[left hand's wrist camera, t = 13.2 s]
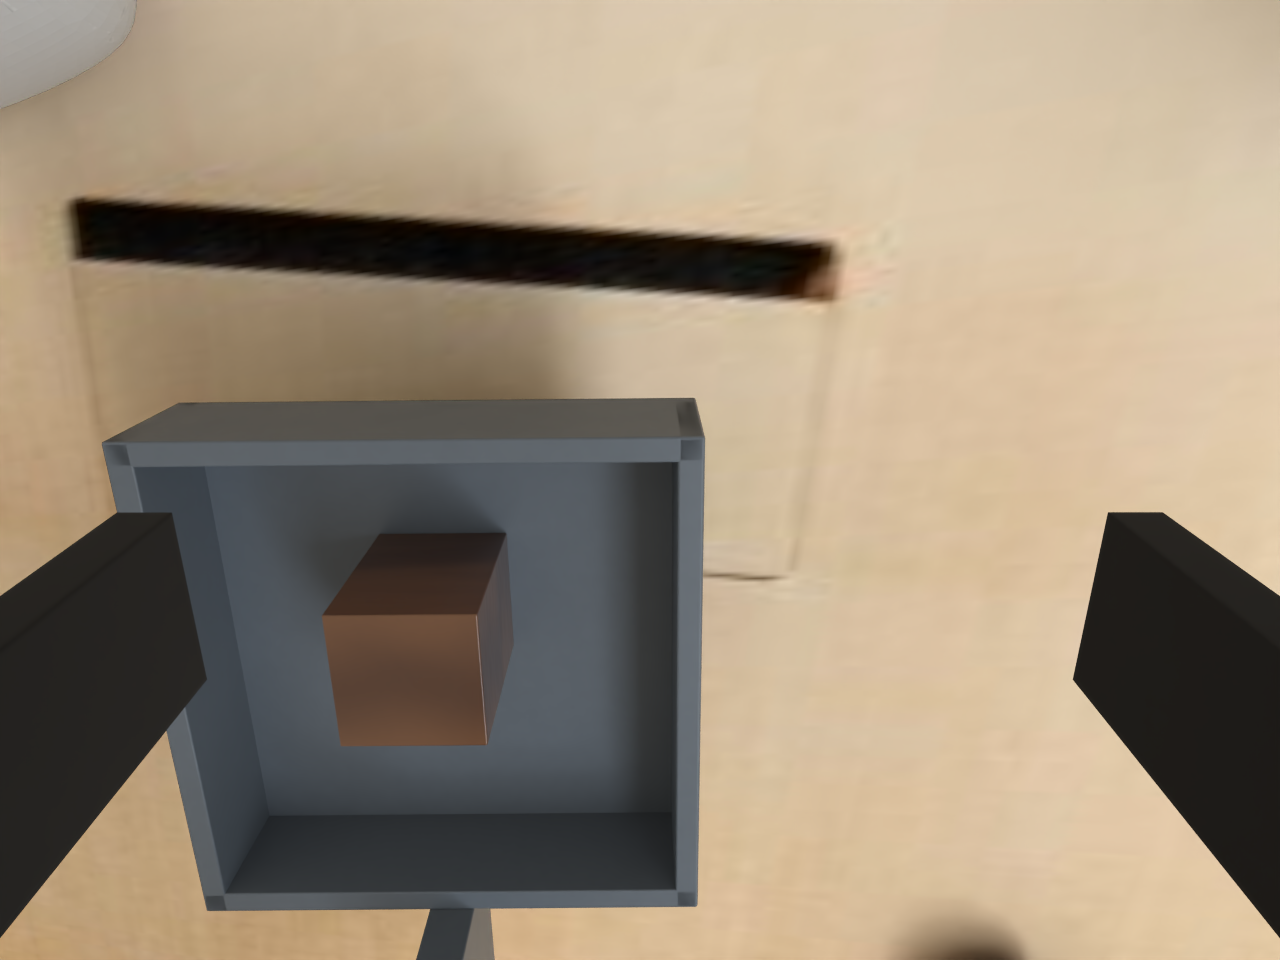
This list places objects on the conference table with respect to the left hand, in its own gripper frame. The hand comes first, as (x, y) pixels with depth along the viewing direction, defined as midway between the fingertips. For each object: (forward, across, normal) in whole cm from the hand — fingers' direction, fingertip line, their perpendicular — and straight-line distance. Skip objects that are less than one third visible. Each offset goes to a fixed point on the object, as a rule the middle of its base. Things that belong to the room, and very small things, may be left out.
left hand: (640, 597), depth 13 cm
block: (+17, -7, -9) cm, 20 cm away
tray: (+17, -7, -17) cm, 25 cm away
